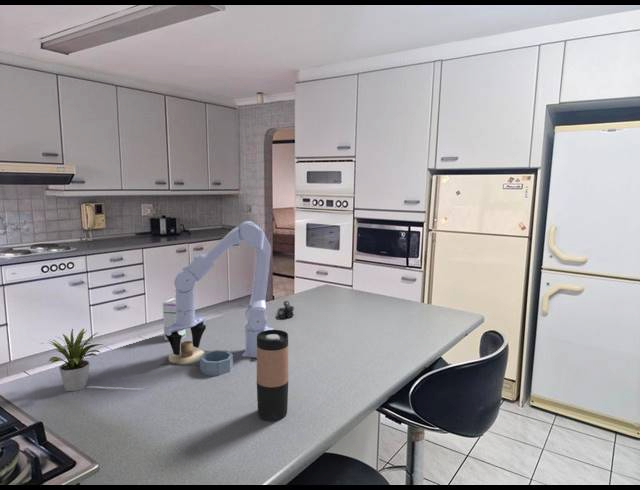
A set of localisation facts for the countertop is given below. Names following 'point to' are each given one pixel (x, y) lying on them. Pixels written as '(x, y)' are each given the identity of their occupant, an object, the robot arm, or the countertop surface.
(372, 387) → the countertop surface
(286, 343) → the travel mug
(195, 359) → the lid
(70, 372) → the house plant
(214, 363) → the bowl
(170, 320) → the syrup box
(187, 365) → the mat
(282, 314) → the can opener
